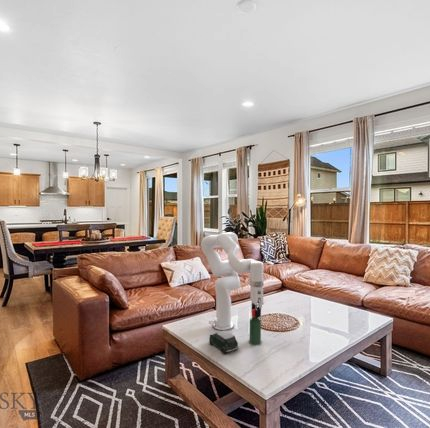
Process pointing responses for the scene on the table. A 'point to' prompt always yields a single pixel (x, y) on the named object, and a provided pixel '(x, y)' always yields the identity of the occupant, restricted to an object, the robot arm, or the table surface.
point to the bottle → (255, 330)
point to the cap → (253, 312)
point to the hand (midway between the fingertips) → (256, 314)
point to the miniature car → (224, 341)
